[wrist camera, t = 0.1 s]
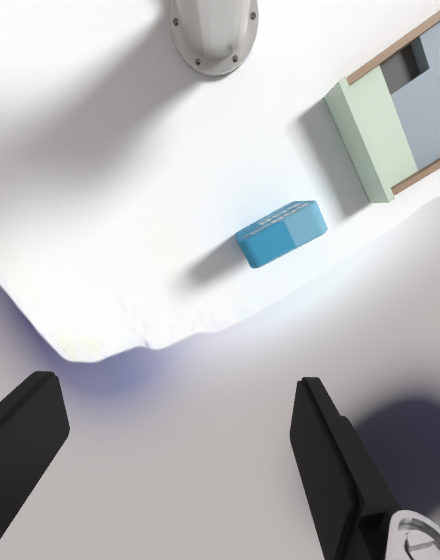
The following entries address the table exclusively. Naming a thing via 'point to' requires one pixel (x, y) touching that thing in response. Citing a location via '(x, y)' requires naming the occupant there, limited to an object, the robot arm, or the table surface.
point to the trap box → (393, 113)
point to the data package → (281, 232)
